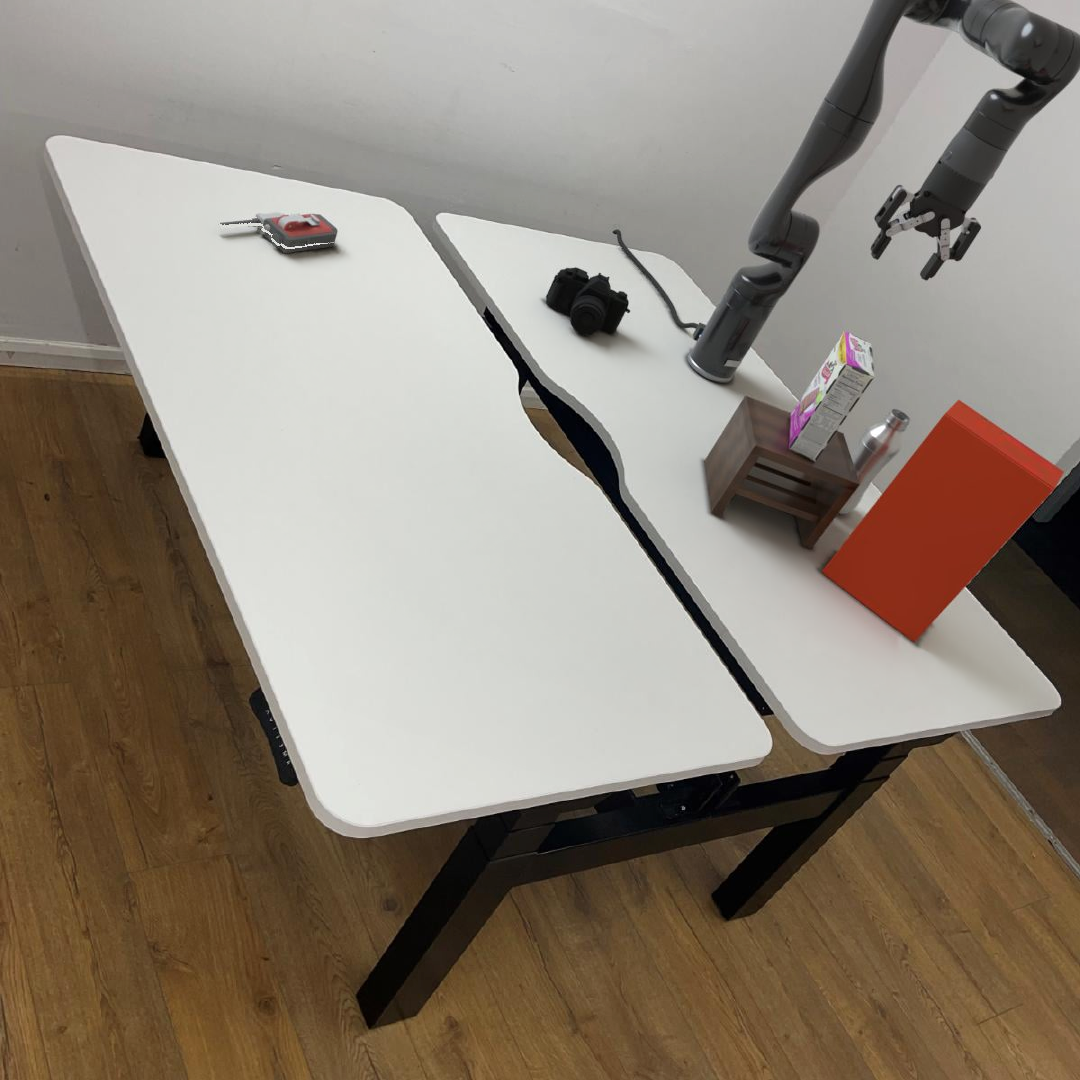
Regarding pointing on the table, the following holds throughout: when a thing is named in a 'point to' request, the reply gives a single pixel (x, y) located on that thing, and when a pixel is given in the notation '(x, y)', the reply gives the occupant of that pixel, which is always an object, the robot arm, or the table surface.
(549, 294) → the film camera
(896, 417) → the silver metal bottle
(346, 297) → the table surface
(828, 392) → the candy bar box
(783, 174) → the robot arm
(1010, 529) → the file binder
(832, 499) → the shoe rack
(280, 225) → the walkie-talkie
